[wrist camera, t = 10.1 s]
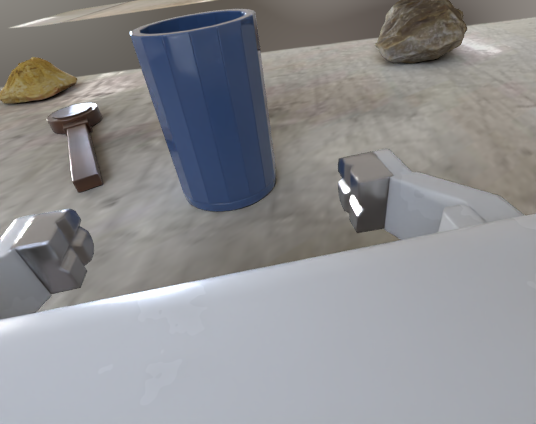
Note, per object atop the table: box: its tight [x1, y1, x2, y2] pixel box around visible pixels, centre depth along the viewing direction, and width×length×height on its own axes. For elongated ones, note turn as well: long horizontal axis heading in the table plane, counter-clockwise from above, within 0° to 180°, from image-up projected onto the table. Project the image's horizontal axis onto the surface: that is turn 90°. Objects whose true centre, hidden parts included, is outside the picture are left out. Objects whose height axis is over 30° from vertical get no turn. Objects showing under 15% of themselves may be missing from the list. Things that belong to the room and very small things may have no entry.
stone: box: [375, 0, 467, 63], centre depth 40 cm, size 13×8×8 cm
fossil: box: [0, 57, 77, 104], centre depth 49 cm, size 11×6×10 cm
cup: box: [130, 9, 276, 211], centre depth 20 cm, size 6×6×10 cm
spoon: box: [47, 103, 103, 192], centre depth 32 cm, size 19×5×2 cm, turn 28°
